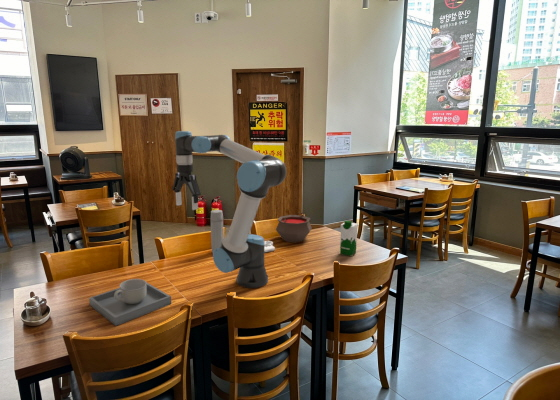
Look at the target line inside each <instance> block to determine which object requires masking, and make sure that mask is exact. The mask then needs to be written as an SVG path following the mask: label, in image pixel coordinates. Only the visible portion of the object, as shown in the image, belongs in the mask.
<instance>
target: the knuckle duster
mask: <svg viewBox="0 0 560 400" xmlns="http://www.w3.org/2000/svg"><path fill="white" fill-rule="evenodd" d="M264 245H265V246H264V253H268V252H274V251H275V250H276V247H275V246H274V242H273V241H271V240H264Z"/></svg>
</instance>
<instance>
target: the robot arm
mask: <svg viewBox="0 0 560 400" xmlns="http://www.w3.org/2000/svg"><path fill="white" fill-rule="evenodd" d="M174 143H175V159H176V160H175V161H176V162H175V163H176V172H175V173H174V174H175V175H174V181H173V185H172V188H171V189H172V191H174V192H175V203H176V206H182V205H183V203H182V199H183V198H182V188H183V186H184V184H185V185H186V186H187V187H188V189H189V191H190V192H191V194H192V195H191V210H192V211H196V210H198V209H199V196H201V195H202V194H201V193H202V192H201V190H200V186H199V185H198V181H197V176H196V174H192V173H193V172H194V163H193V160H194V159H193V153H196V154H197V153H198V154H206V153H210V152H213V153H214V152H218V153H220V154H222V155H224V156H227V157H229V158H231V159H232V160H234V161H236V162H239V163H241V165H240V166H239V168H238V170H237V173H236V180H237V185H238V189H239V191H240V196H239V200H238V202H237V205H236V208H235V212H234V215H233V218H232V220H231V224H230V227H229V231H228V234H227V236H225V237H223V241H222V244H221V247H220V248H216V249H215V250H214V252H213V253H212V260H213V262H214V265H215V267H216V268H217V270H219V271H220V272H221V273H224V274H225V273H226V274H227V273H231V272H233V271H236V270H238V269H239V270H238V272H237V273H238V274H237V276H236V284H237V285H238V286H240V287H243V288H246V289H247V288H248V289H255V288H261V287H264V286H266V285H267V284H268V283H269V275H268V273H267V270H266V266H265V252H264V246H265V245H264V241H265V239H264V237H263V236H261V235H258V234H252V233H251V234H250V232H251V230H252V227H253V224H254V221H255V218H256V215H257V212H258V209H259V206H260V203H261V201H262V199H265V198H266V197H267V194H268V192H269V190H270V188H272V187H278V186H280V185H281V184H282V183H283V182H284V181H285V179H286V177H287V167H286V165H285V163H284V162H283V161H282V160H281V159H280V158H278V157H276V156H273V155H272V154H266V155H265V154H264V153H262V152H258V151H256V150H254V149H253V148H249V147H247V146H245V145H242V144H240V143H238V142H235V141H234V140H231V137H229V135H226V134H217V135H216V134H215V135H192V131H190V130H178V131H175V139H174Z"/></svg>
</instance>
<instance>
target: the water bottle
mask: <svg viewBox="0 0 560 400" xmlns="http://www.w3.org/2000/svg"><path fill="white" fill-rule="evenodd" d="M223 214H224V213H223V210H221V209H214V210H211V211H210V241H211V243H210V244H211V253H212V254H213V252H214V250H215V249H216V248H220V247H221V244H222V241H223V239H224V215H223Z"/></svg>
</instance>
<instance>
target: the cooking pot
mask: <svg viewBox="0 0 560 400" xmlns="http://www.w3.org/2000/svg"><path fill="white" fill-rule="evenodd" d="M310 220H311V217H308V216H306V215H305V213H304V212H303V211H302V212H301V213H300V215H299V214H298V215H297V214H287V215H283V216H279V217H278V218H277V221H278V224H277V226H276V227H275V228H276V229H275V231H276V232H277V233H278V234H279V236H280V237H281V239H282V240H283V241H285V242H286V243H295V242H296V243H300V241H301V242H303V241H305V239H306V237H307V236H308V235H309V233H310V232H311V231H312V226H311V223H310Z"/></svg>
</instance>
